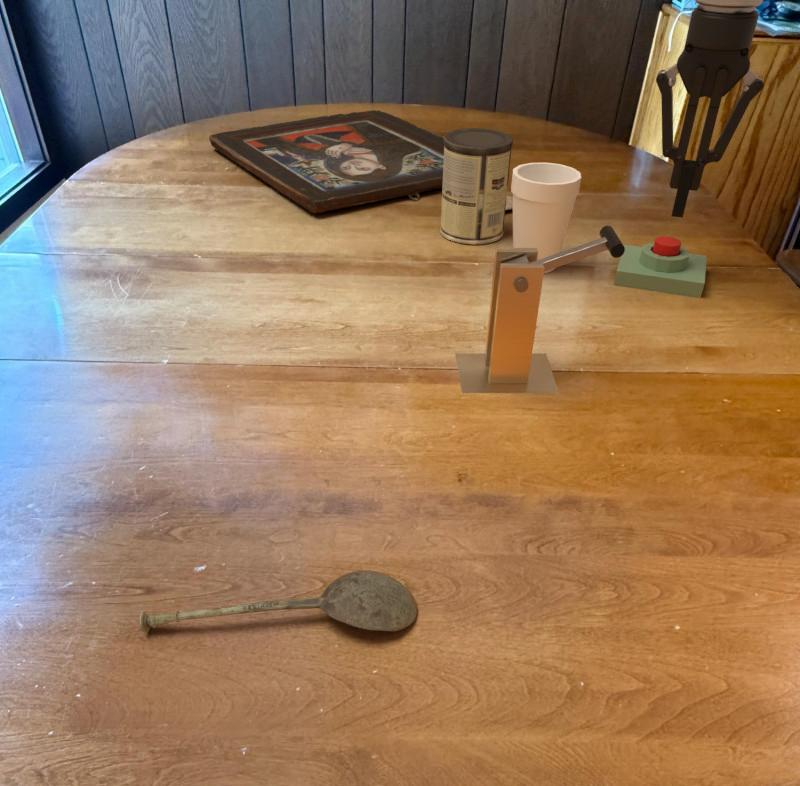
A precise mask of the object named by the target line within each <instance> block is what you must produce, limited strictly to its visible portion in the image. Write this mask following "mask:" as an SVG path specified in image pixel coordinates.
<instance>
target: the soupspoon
mask: <svg viewBox="0 0 800 786" xmlns="http://www.w3.org/2000/svg"><path fill="white" fill-rule="evenodd" d="M307 609H320V610H322V612H324V613H325V614H326V615H327V616H329V617H330V618H332V619H334V620H336V621H338V622H340V623H343V624H346V625H349V626H351V627H354V628H358V629H364V630H366V631H379V632H399V631H401V630H404V629H406V628H408V627H409V626H410V625H412V624H413V623H414V621H415V620H416V618H417V615H418V613H419V611H418V604H417V601H416V598H415V597H414V596H413V594H412V592H411V591H410V590H409V589H408V588H407V586H405V585H404V584H403V583H402V582H401V581H400V580H398V579H396V578H395V577H393V576H391V575H389V574H387V573H383V572H379V571H375V570H356V571H351V572H348V573H344V574H343V575H340V576H338V577H337V578H335V579H334V580H333V581H332V582H331V583H329V585H327V586H326V588H325V589H324V591H323V592H322V593H321V595H320V596H319V597H318V596H316V597H307V598H306V597H305V598H290V599H279V600H270V601H262V602H253V603H245V604H238V605H231V606H230V605H229V606H223V607H215V608H207V609H197V610H191V611H185V612H180V611H179V610H176V611H174V612H173V613H166V612H165V613H164V612H163V613H158V614H156V613H153V612H152V613H150V614H149V615H148V614H147V612H146V611H144V610H142V611H141V612H140V614H139V620H138V621H139V627H140V630H141V632H142V633H144V634H148V633H149V632H150V631H151V628H152V629H155V628H157V627H158V626H161V625H167V624H170V623H171V622H175V623H180V622H181V621H187V620H195V619H205V618H215V617H224V616H234V615H242V614H243V615H244V614H252V613H260V612H270V611H271V612H272V611H285V610H286V611H287V610H307Z"/></svg>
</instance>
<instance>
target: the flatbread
mask: <svg viewBox="0 0 800 786" xmlns="http://www.w3.org/2000/svg"><path fill="white" fill-rule="evenodd" d="M511 210H513V195H507V198H506V208H505V212H507V211H511Z"/></svg>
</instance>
